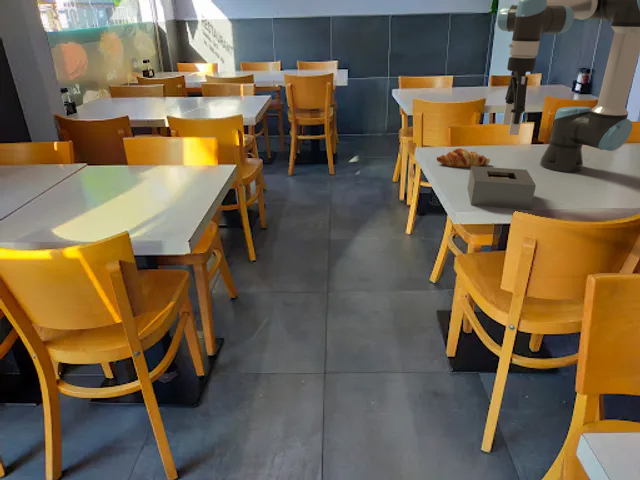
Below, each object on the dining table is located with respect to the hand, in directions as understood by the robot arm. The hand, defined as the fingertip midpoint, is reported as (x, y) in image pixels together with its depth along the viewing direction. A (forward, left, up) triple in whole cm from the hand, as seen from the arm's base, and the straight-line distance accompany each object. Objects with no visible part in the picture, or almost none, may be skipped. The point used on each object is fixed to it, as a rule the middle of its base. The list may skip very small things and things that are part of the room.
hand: (509, 129), depth 150 cm
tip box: (0, +1, -23) cm, 23 cm away
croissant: (+9, -36, -23) cm, 43 cm away
